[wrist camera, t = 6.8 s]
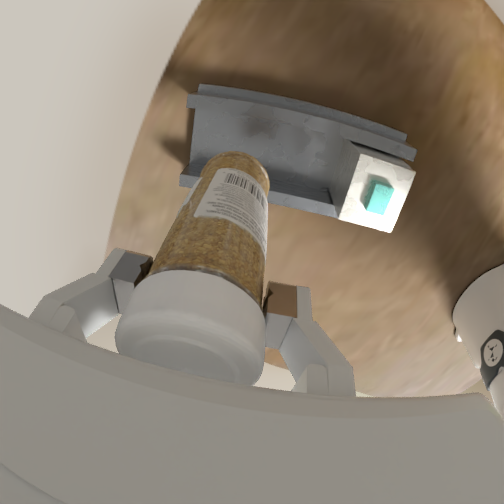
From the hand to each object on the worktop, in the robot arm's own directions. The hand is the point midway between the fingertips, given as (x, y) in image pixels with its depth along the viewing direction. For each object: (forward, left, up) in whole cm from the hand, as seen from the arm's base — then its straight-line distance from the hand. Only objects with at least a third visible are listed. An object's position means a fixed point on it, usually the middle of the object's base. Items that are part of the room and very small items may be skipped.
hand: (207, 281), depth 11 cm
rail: (-4, 0, -20) cm, 20 cm away
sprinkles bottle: (0, 0, -10) cm, 10 cm away
